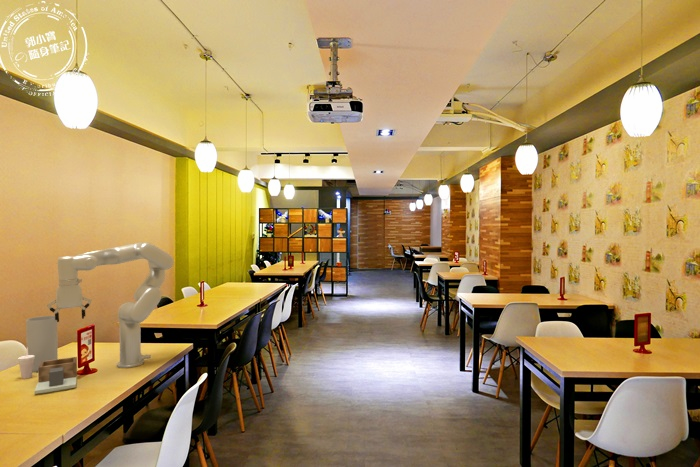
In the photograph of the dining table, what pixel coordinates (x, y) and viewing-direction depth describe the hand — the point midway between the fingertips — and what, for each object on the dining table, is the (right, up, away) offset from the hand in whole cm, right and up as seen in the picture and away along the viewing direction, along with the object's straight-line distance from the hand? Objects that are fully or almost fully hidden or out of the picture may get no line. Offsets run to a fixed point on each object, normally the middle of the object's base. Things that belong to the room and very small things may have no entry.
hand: (70, 319), depth 199 cm
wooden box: (-5, -27, -1) cm, 28 cm away
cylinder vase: (-24, -28, +16) cm, 40 cm away
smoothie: (-22, -28, +2) cm, 35 cm away
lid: (+2, -26, -13) cm, 29 cm away
